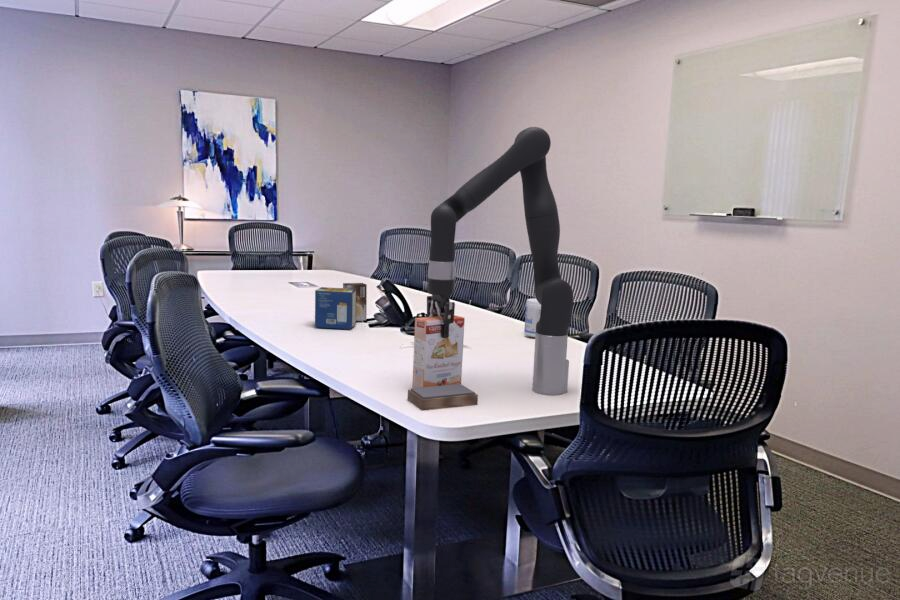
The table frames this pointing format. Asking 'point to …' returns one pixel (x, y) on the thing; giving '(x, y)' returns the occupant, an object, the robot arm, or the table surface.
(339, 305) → the protein box
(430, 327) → the cracker box
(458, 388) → the podium
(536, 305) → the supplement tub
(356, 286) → the coffee box
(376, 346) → the table surface
